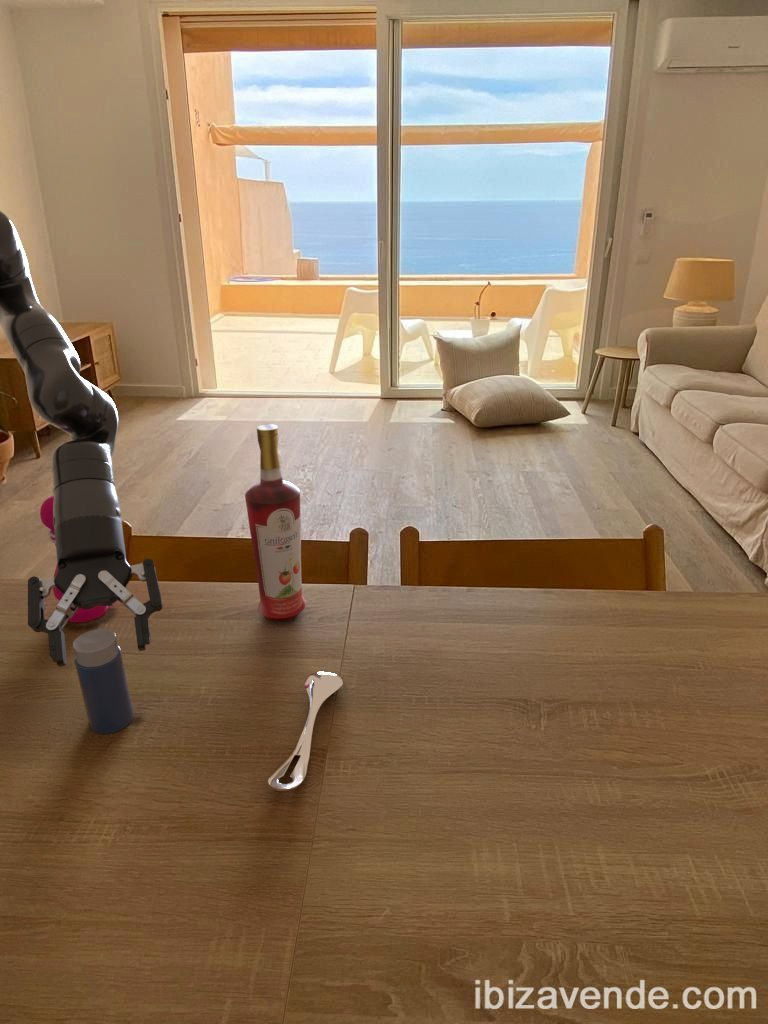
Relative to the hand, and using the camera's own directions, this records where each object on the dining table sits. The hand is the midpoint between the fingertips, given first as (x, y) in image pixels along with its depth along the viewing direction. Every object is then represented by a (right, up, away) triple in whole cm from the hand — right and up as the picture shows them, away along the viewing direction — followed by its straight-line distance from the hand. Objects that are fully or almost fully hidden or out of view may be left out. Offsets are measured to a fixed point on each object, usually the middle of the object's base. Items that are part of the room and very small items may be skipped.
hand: (102, 657), depth 79 cm
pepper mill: (-12, +2, +23) cm, 26 cm away
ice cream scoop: (+23, -9, -1) cm, 25 cm away
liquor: (+17, +2, +22) cm, 28 cm away
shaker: (0, -8, +2) cm, 8 cm away
